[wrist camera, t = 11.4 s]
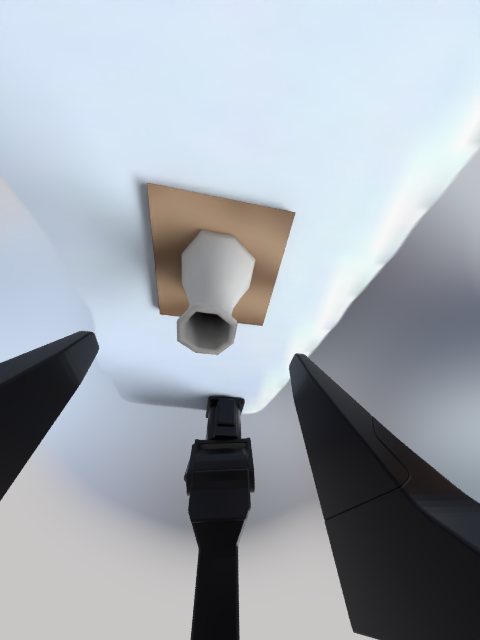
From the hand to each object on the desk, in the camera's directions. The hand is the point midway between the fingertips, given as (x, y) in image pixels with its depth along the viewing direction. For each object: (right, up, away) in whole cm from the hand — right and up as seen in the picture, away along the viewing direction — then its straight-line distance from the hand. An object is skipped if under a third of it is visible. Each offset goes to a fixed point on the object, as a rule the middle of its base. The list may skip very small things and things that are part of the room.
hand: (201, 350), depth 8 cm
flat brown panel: (-1, +7, +11) cm, 13 cm away
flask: (0, +6, +10) cm, 12 cm away
